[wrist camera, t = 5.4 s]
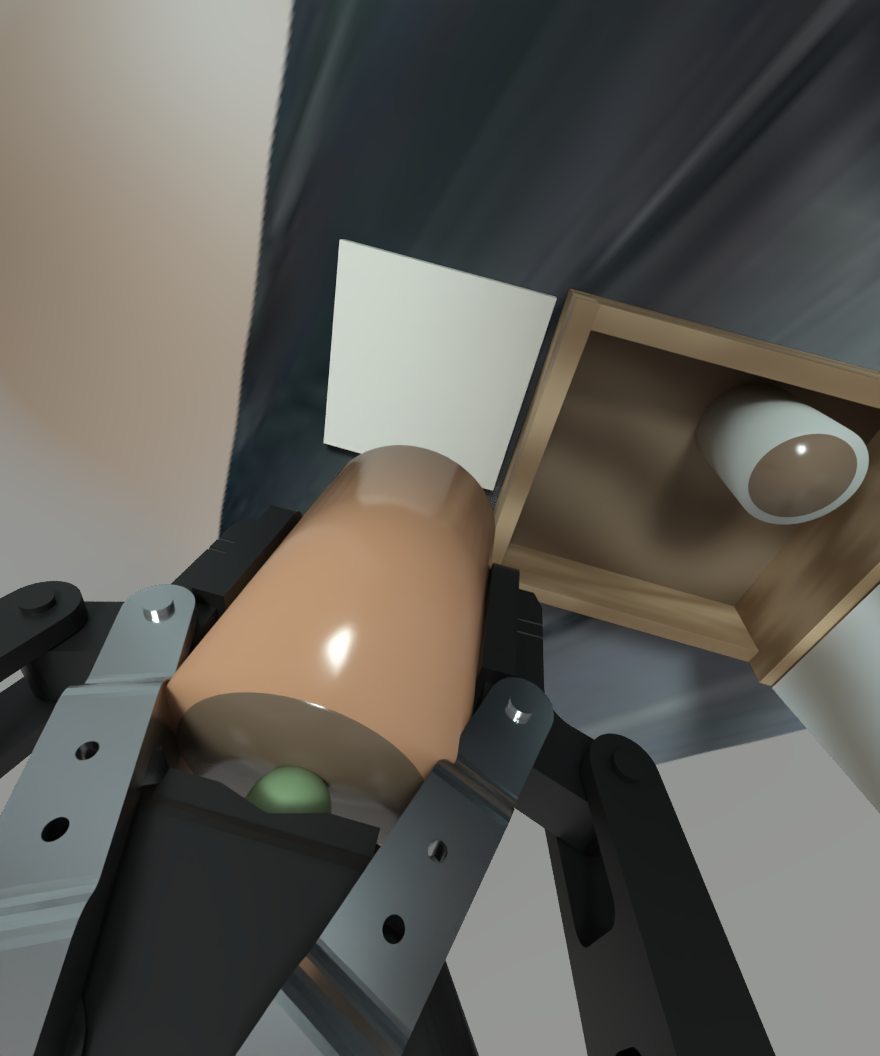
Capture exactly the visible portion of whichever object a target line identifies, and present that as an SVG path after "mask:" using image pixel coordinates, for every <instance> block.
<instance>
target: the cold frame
mask: <svg viewBox="0 0 880 1056" xmlns="http://www.w3.org/2000/svg"><path fill="white" fill-rule="evenodd" d="M752 383H765V384H770V385H774V386H776V387H778V388H780V389H782V390H784V391H785V392H787V393H789V394H791V395H792V396H794V397H796V398H797V399H799V400H801V401H802V402H804V403H806V404H807V405H809V406H811V407H812V408H814V409H816V410H817V411H819V412H821V413H822V414H824V415H826V416H827V417H829V418H831V419H833V420H834V421H836V422H838V423H839V424H841V425H843V426H844V427H846V428H848V429H849V430H851V431H853V432H854V433H855V434H857V435H858V436H859V437H860V438H861V439H862V440H863V442H864V444H865V445H866V447H867V451H868V456H869V464H868V469H867V473H866V475H865V478H864V480H863V481H862V483H861V485H860V486H859V488H858V489H857V490H856V492H855V493H854V494H853V495H852V496H851V497H850V498H849V499H848V500H847V501H846V502H844V503H843V504H842V505H840V506H839V507H838V508H836V509H835V510H833V511H831V512H829V513H828V514H825V515H823V516H821V517H819V518H816V519H813V520H810V521H807V522H802V523H797V524H772V523H768V522H764V521H761V520H759V519H757V518H755V517H753V516H752V515H751V514H749V513H748V512H747V511H746V510H745V509H744V507H743V506H742V505H741V504H740V502H739V501H738V500H737V498H736V497H735V496H734V495H733V493H732V492H731V491H730V490H729V488H728V487H727V486H726V485H725V483H724V482H723V481H722V480H721V478H720V477H719V476H718V475H717V473H716V472H715V471H714V470H713V468H712V467H711V466H710V464H709V463H708V462H707V461H706V459H705V458H704V457H703V456H702V454H701V453H700V451H699V449H698V447H697V444H696V429H697V425H698V422H699V420H700V418H701V416H702V414H703V413H704V411H705V410H706V409H707V407H708V406H709V405H710V404H711V403H712V402H713V401H714V400H715V399H717V398H718V397H719V396H721V395H722V394H724V393H725V392H727V391H729V390H731V389H734V388H736V387H739V386H742V385H746V384H752ZM493 514H494V518H495V540H494V548H493V555H492V563H491V566H492V564H493V563H496V564H500V565H504V566H508V567H512V568H515V569H519V570H520V578H519V589H522V590H525V591H529V592H533V593H534V594H535V595H536V597H537V599H538V601H539V602H541V603H544V604H548V605H551V606H555V607H558V608H562V609H565V610H569V611H572V612H576V613H579V614H583V615H586V616H590V617H593V618H596V619H600V620H603V621H607V622H610V623H614V624H617V625H621V626H624V627H628V628H631V629H635V630H638V631H642V632H645V633H649V634H652V635H656V636H659V637H663V638H666V639H670V640H673V641H677V642H680V643H684V644H687V645H691V646H694V647H698V648H701V649H705V650H708V651H712V652H715V653H719V654H722V655H726V656H729V657H733V658H736V659H740V660H743V661H746V662H749V664H750V666H751V668H752V670H753V671H754V673H755V675H756V677H757V679H758V681H759V683H763V684H766V685H769V686H773V687H772V689H773V690H774V691H775V692H776V693H777V694H778V696H779V697H780V698H781V699H782V700H783V701H784V703H785V704H786V705H787V706H788V707H789V708H790V710H791V711H792V712H793V713H794V714H795V715H796V717H797V718H798V719H799V720H800V721H801V722H802V724H803V725H804V726H805V727H806V728H807V729H808V731H809V732H810V733H811V734H812V735H813V736H814V737H815V739H816V740H817V741H818V742H819V743H820V744H821V746H822V747H823V748H824V749H825V750H826V751H827V753H828V754H829V755H830V756H831V757H832V758H833V760H835V762H836V763H837V764H838V765H839V767H840V768H841V769H842V770H843V771H844V772H845V774H846V775H847V776H848V777H849V778H850V779H851V780H852V782H853V783H854V784H855V785H856V786H857V787H858V789H859V790H860V791H861V792H862V793H863V794H864V795H865V797H866V798H867V799H868V800H869V801H870V803H871V804H872V805H873V806H874V807H875V808H876V810H877V811H878V812H879V813H880V372H877V371H873V370H870V369H866V368H862V367H859V366H855V365H851V364H847V363H844V362H840V361H836V360H833V359H829V358H825V357H822V356H818V355H814V354H811V353H807V352H803V351H799V350H796V349H792V348H788V347H785V346H781V345H777V344H774V343H770V342H766V341H762V340H759V339H755V338H751V337H748V336H744V335H740V334H737V333H733V332H729V331H726V330H722V329H718V328H714V327H711V326H707V325H703V324H700V323H696V322H692V321H689V320H685V319H681V318H678V317H674V316H670V315H666V314H663V313H659V312H655V311H652V310H648V309H644V308H641V307H637V306H633V305H629V304H626V303H622V302H618V301H615V300H611V299H607V298H604V297H600V296H596V295H593V294H589V293H585V292H581V291H578V290H574V289H570V288H569V291H568V294H567V297H566V300H565V303H564V306H563V309H562V312H561V315H560V318H559V321H558V324H557V326H556V329H555V332H554V335H553V338H552V341H551V344H550V347H549V350H548V353H547V356H546V359H545V362H544V364H543V367H542V370H541V373H540V376H539V379H538V382H537V385H536V388H535V391H534V394H533V397H532V399H531V402H530V405H529V408H528V411H527V414H526V417H525V420H524V423H523V426H522V429H521V432H520V435H519V437H518V440H517V443H516V446H515V449H514V452H513V455H512V458H511V461H510V464H509V467H508V470H507V473H506V475H505V478H504V481H503V484H502V487H501V490H500V493H499V496H498V499H497V502H496V505H495V508H494V511H493Z"/></svg>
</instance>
